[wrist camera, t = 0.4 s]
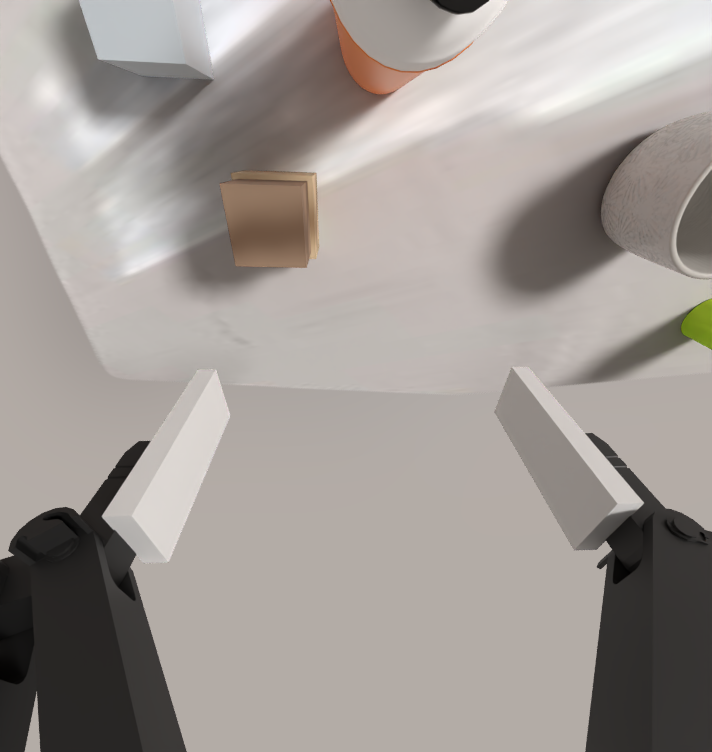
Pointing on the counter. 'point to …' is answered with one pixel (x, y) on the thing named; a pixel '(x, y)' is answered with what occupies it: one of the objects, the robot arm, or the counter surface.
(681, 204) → the planter
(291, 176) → the oak block
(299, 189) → the walnut block
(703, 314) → the soap dispenser
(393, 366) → the counter surface
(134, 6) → the grey-blue cube
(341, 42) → the shaker bottle
